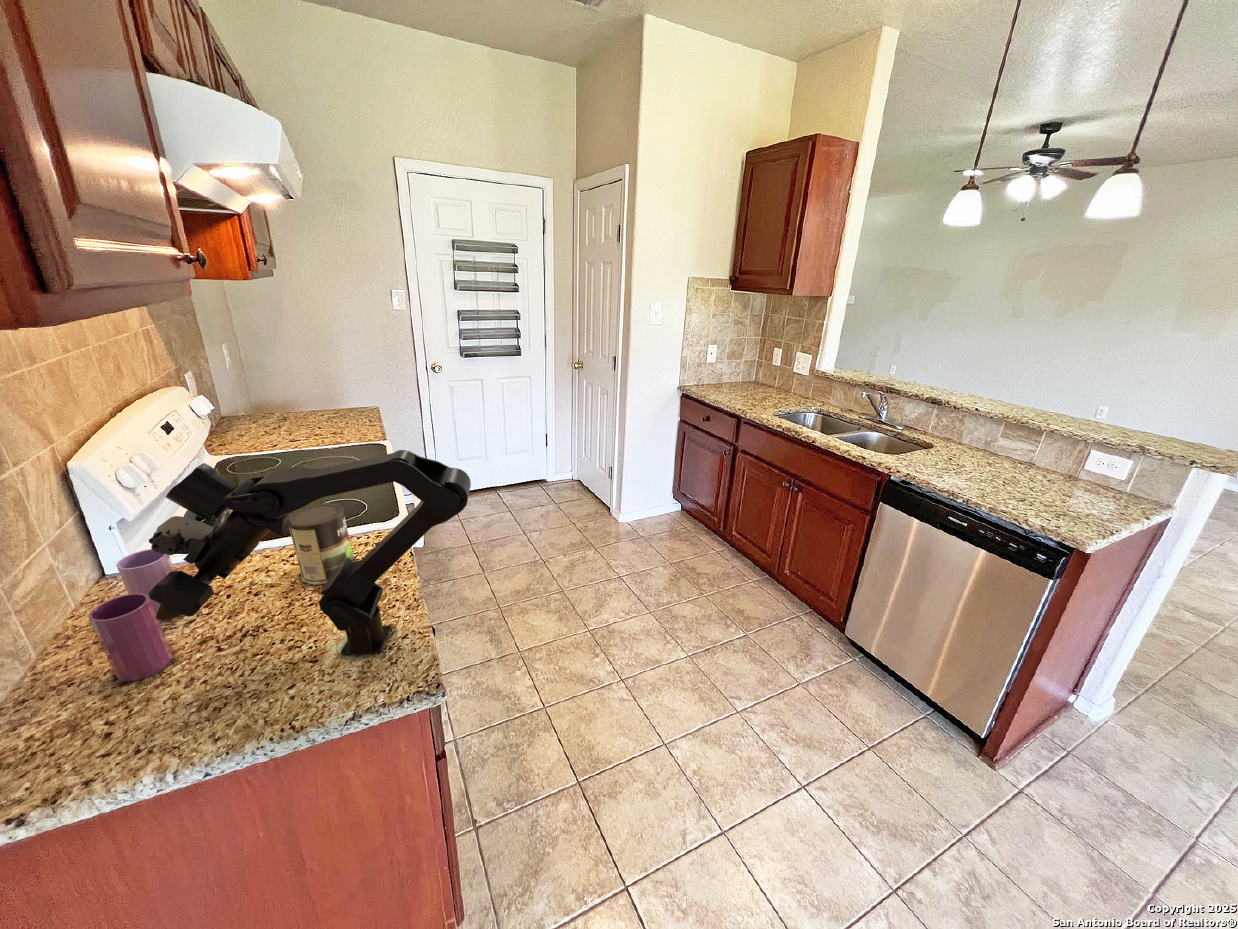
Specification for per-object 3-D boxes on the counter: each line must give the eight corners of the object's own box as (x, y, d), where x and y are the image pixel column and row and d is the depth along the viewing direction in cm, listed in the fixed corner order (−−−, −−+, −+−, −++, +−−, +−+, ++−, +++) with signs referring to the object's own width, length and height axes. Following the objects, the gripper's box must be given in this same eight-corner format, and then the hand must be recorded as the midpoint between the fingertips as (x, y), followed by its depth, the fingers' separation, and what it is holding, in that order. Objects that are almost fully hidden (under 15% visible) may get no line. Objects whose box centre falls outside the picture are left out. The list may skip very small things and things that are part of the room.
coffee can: (357, 554, 113) (346, 499, 108) (352, 579, 104) (340, 521, 99) (305, 562, 109) (291, 506, 104) (296, 589, 100) (280, 529, 95)
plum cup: (165, 673, 79) (139, 613, 75) (109, 687, 76) (79, 626, 72) (177, 646, 85) (155, 588, 80) (126, 658, 82) (99, 599, 78)
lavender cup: (170, 623, 90) (148, 568, 86) (129, 625, 89) (105, 570, 85) (195, 600, 96) (176, 547, 92) (157, 601, 96) (136, 549, 91)
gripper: (219, 478, 81) (163, 541, 83) (141, 535, 64) (74, 612, 66) (283, 517, 85) (228, 576, 87) (226, 580, 68) (160, 651, 70)
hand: (178, 600), depth 78 cm, fingers open, 9 cm apart
